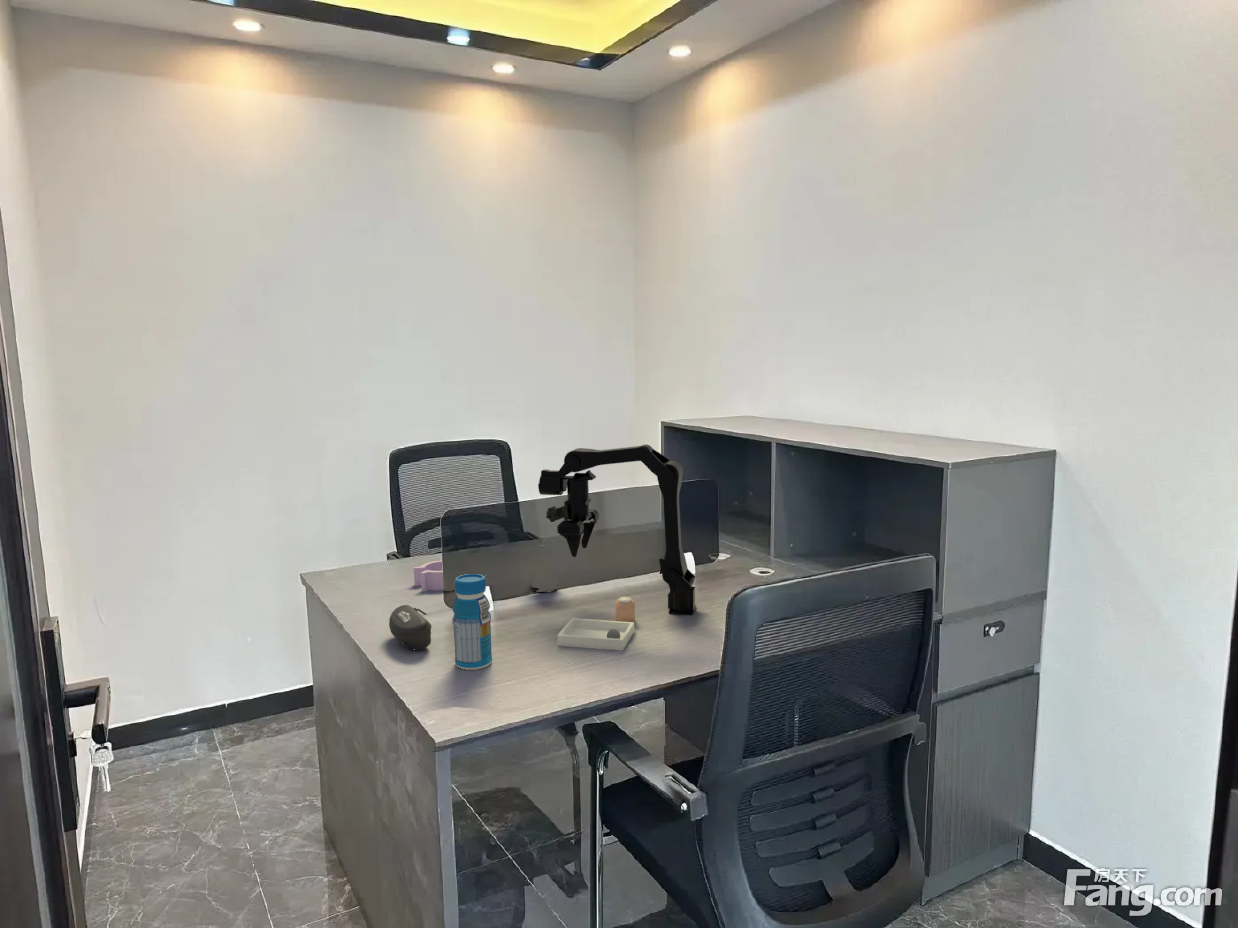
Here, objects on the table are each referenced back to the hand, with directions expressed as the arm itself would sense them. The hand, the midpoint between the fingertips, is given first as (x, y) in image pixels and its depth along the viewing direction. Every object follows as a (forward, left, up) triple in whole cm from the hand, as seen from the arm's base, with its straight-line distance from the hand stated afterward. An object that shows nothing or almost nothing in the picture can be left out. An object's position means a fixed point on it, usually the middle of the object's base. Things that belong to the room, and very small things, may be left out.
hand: (579, 552), depth 213 cm
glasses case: (+31, +35, -15) cm, 49 cm away
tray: (-11, +24, -14) cm, 30 cm away
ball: (-16, +27, -14) cm, 34 cm away
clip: (+42, -7, -15) cm, 45 cm away
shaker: (-15, +11, -15) cm, 24 cm away
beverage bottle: (+12, +44, -15) cm, 48 cm away
